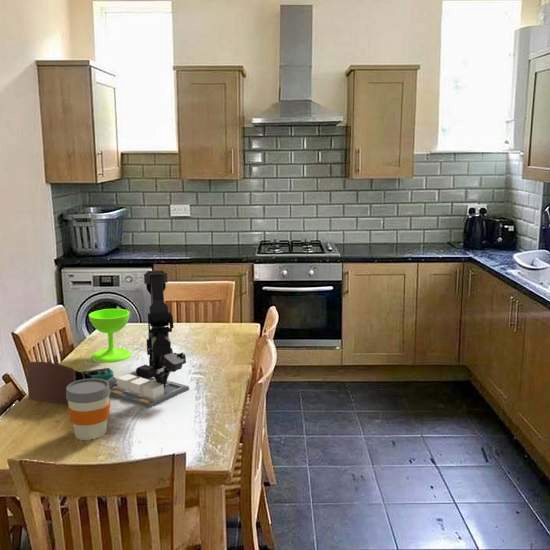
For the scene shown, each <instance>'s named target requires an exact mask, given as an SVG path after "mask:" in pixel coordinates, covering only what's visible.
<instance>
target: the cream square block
mask: <svg viewBox="0 0 550 550" xmlns="http://www.w3.org/2000/svg"><path fill="white" fill-rule="evenodd" d="M143 395H144V396H146V397H149V398H152V399H156V398H158V397H160V396H162V395H164V384H160V383H157V382H152V383H149V384H147V385H145V386H143Z"/></svg>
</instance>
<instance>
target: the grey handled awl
mask: <svg viewBox="0 0 550 550" xmlns="http://www.w3.org/2000/svg"><path fill="white" fill-rule="evenodd" d="M106 381H108V383H109V388H110V389H111V387H113V385H116V383H117V378H116V376H113V377H111V378H110V379H108V380H106Z"/></svg>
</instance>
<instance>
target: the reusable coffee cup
mask: <svg viewBox="0 0 550 550" xmlns="http://www.w3.org/2000/svg"><path fill="white" fill-rule="evenodd" d="M110 390H111V387H110V388H109V383H108V381H107V380H103V379H95V378H92V379H83V380H78V381H75V382H73V383H71V384H69V385H68V386H67V388H66V399H67V400H68V406H67V411H68V414H69V415H68V416H69V419H70V420H69V421H70V422H71V423H72V426H73V427H72V428H73V431H74V436H75V438H76V439H78V440H82V441H92V440H91V439H93V440H96V438H97V439H100V438H102V437H104V436H105V435H106V434H105V433H107V429H108V428H107V427H108V418H109V416H110V409H111V408H110V405H111V401H110V396H111V395H110ZM104 434H105V435H104ZM103 435H104V436H103ZM101 436H102V437H101ZM99 437H100V438H99Z"/></svg>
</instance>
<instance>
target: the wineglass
mask: <svg viewBox="0 0 550 550" xmlns="http://www.w3.org/2000/svg"><path fill="white" fill-rule="evenodd" d="M88 319H89V322H90V323H91V325H92V327H93V328H94V329H95V330H96V331H99V332H100V333H104V334H107V337H108V339H107V340H108V347H107V348H104V349H101V350H100V349H99V350H97V351H96V352H94V353H93V354H92V355H91V360H92V359H94V360H96V361H95V362H97V361H100V362H99V363H103V362H110V363H118V362H121V361H125V360H128V359H130V358H131V357H132V352H131V351H130V350H128V349H126V348H120V347H114V333H117V332H120V331H121V330H122V329H123V328H125V327H126V325H127V324H128V321H129V319H130V311H129V310H127V309H123V308H106V309H105V308H104V309H100V310H99V309H98V310H95V311H92V312H90V313H88ZM94 360H93V361H94Z"/></svg>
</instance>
